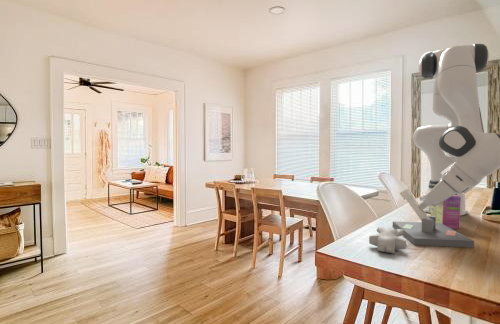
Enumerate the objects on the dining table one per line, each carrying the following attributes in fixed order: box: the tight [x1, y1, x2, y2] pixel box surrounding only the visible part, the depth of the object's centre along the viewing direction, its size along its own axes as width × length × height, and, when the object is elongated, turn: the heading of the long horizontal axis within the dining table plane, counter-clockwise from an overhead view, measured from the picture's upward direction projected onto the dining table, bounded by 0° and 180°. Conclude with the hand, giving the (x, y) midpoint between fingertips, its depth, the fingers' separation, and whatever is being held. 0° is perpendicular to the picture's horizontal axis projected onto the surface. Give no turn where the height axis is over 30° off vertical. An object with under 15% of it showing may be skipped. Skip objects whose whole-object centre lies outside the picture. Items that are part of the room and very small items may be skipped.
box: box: [430, 195, 461, 230], centre depth 108 cm, size 10×6×12 cm, turn 168°
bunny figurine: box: [368, 226, 407, 254], centre depth 85 cm, size 10×5×15 cm
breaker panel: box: [392, 215, 475, 249], centre depth 94 cm, size 20×16×6 cm
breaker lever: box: [399, 188, 435, 227], centre depth 96 cm, size 3×4×14 cm
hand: (420, 207), depth 95 cm, fingers closed, pressing on breaker lever
